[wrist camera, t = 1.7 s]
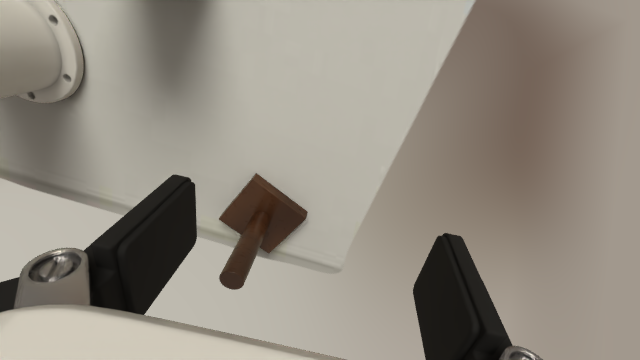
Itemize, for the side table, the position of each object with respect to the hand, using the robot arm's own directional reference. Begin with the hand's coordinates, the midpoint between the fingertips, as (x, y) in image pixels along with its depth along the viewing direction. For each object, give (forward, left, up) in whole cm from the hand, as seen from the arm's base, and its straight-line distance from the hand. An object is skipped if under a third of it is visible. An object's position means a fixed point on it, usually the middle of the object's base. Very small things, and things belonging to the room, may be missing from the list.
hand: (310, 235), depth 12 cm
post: (+2, -17, -22) cm, 28 cm away
